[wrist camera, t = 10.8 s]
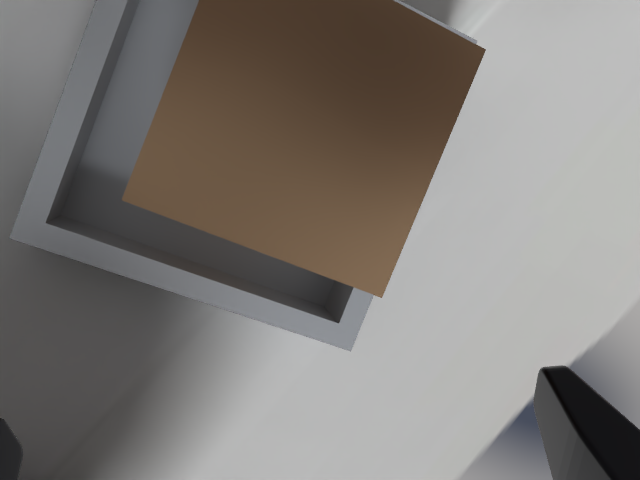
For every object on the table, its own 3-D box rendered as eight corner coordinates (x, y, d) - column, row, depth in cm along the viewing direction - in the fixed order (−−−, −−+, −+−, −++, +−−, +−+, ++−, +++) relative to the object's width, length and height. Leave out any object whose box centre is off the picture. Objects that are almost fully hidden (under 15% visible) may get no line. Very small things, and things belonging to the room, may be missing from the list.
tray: (330, 326, 24) (350, 351, 21) (33, 226, 20) (8, 238, 18) (440, 54, 23) (477, 40, 20) (150, -92, 20) (145, -133, 17)
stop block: (285, 225, 22) (381, 298, 11) (154, 173, 20) (121, 200, 10) (336, 99, 21) (485, 49, 11) (206, 38, 20) (232, -86, 9)
